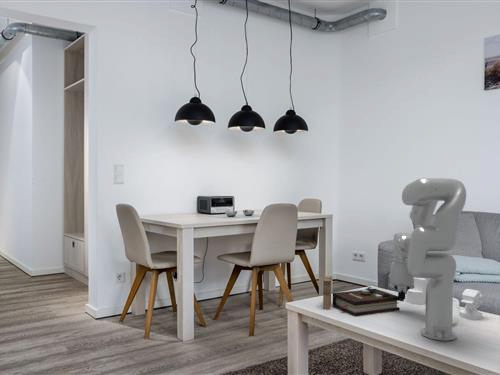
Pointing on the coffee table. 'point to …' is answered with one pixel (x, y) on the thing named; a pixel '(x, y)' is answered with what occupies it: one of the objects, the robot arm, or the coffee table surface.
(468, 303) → the character figurine
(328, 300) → the bookend
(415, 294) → the cylinder with rectangular tab
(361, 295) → the decorative book
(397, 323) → the coffee table surface
